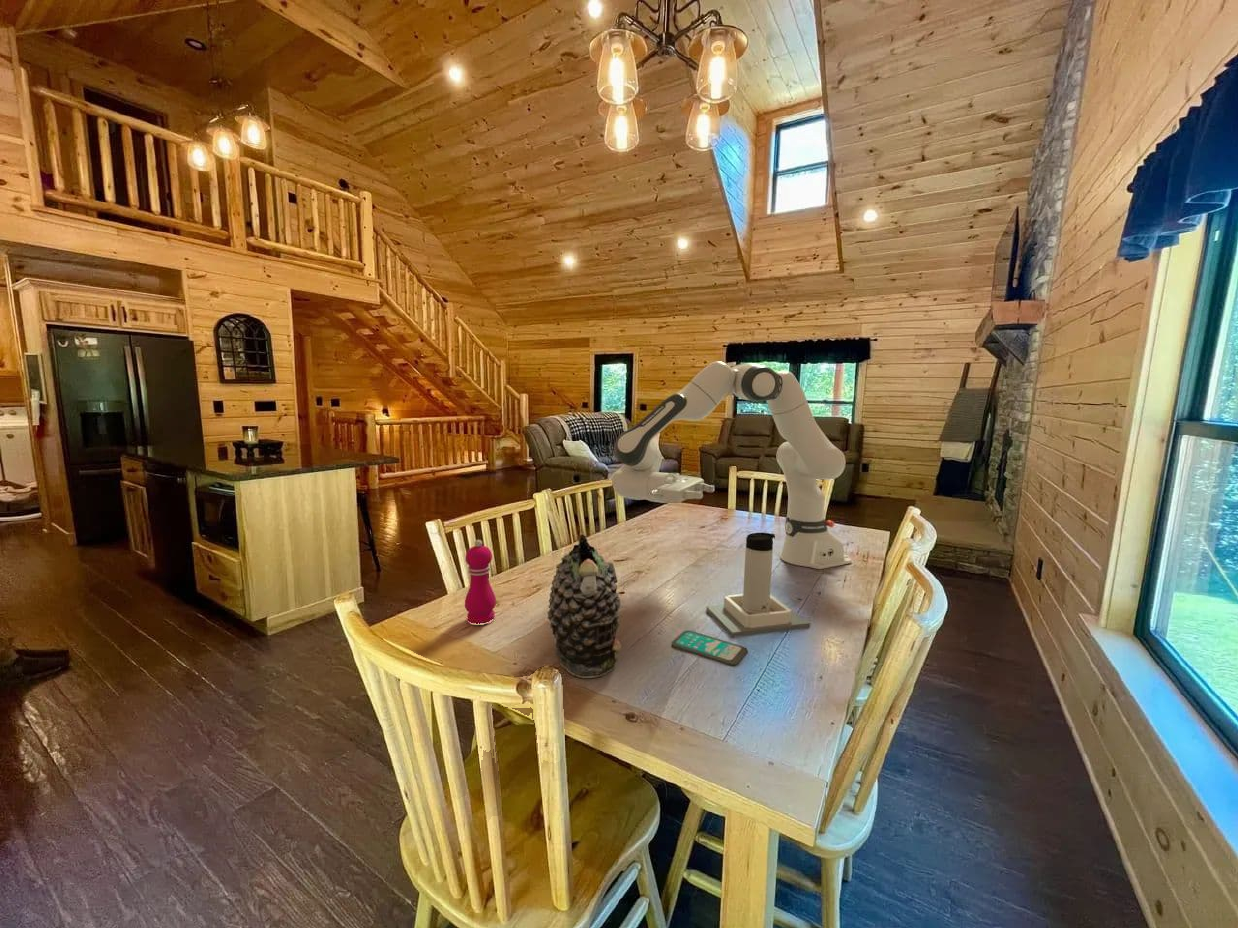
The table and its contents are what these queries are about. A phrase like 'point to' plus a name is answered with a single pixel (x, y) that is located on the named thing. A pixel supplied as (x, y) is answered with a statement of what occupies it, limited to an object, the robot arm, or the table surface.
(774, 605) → the tray
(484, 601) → the pepper mill
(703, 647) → the smartphone
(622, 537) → the table surface
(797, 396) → the robot arm
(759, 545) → the travel mug
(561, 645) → the decorative house
